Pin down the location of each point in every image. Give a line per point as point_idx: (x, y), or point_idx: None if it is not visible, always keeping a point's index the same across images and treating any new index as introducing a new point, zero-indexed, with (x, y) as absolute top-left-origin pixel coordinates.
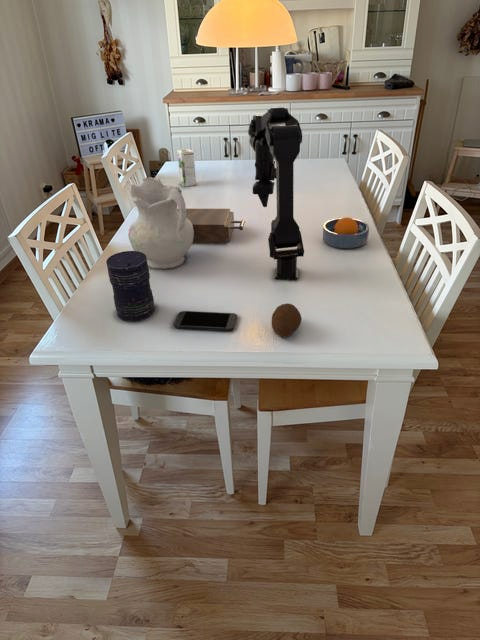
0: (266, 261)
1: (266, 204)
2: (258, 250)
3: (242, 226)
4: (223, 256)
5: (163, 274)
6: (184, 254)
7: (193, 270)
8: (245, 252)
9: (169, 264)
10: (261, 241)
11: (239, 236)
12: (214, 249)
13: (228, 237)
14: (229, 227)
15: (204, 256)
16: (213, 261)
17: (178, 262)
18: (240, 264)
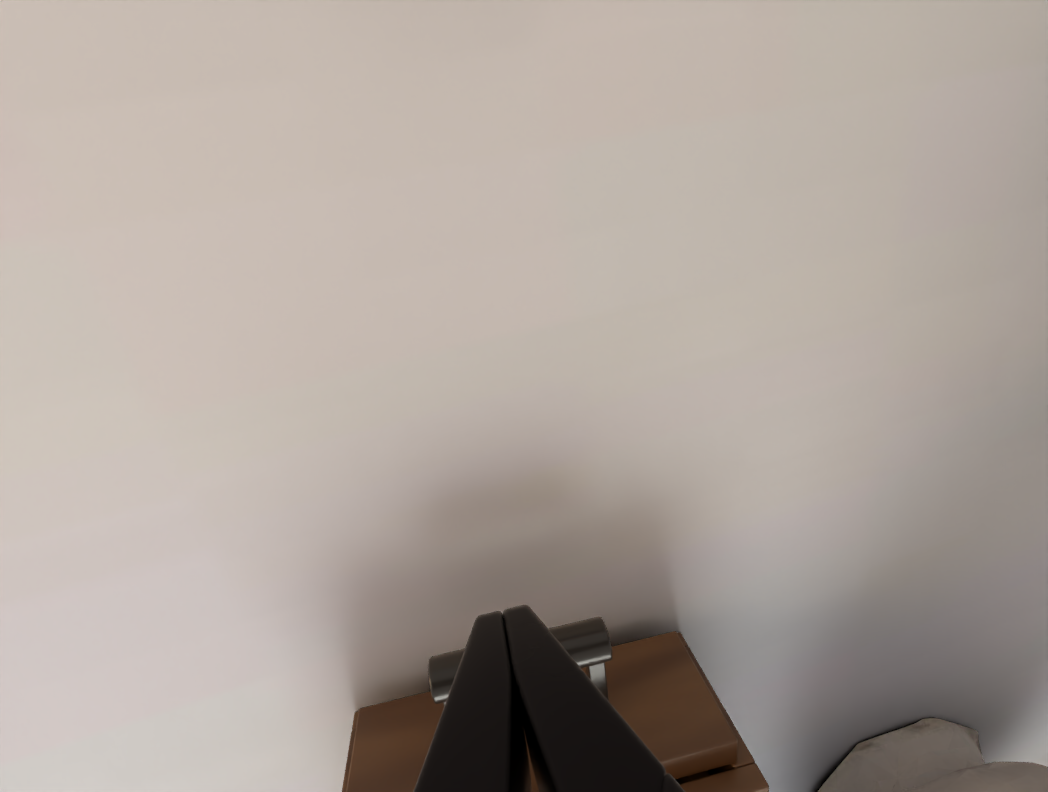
0: (984, 266)
1: (554, 647)
2: (790, 379)
3: (597, 641)
4: (869, 571)
5: (1025, 734)
6: (1006, 762)
7: (1015, 643)
8: (819, 462)
9: (982, 761)
10: (614, 403)
11: (537, 593)
12: (766, 654)
13: (686, 652)
14: (658, 722)
15: (858, 663)
16: (928, 597)
17: (952, 738)
18: (995, 437)
